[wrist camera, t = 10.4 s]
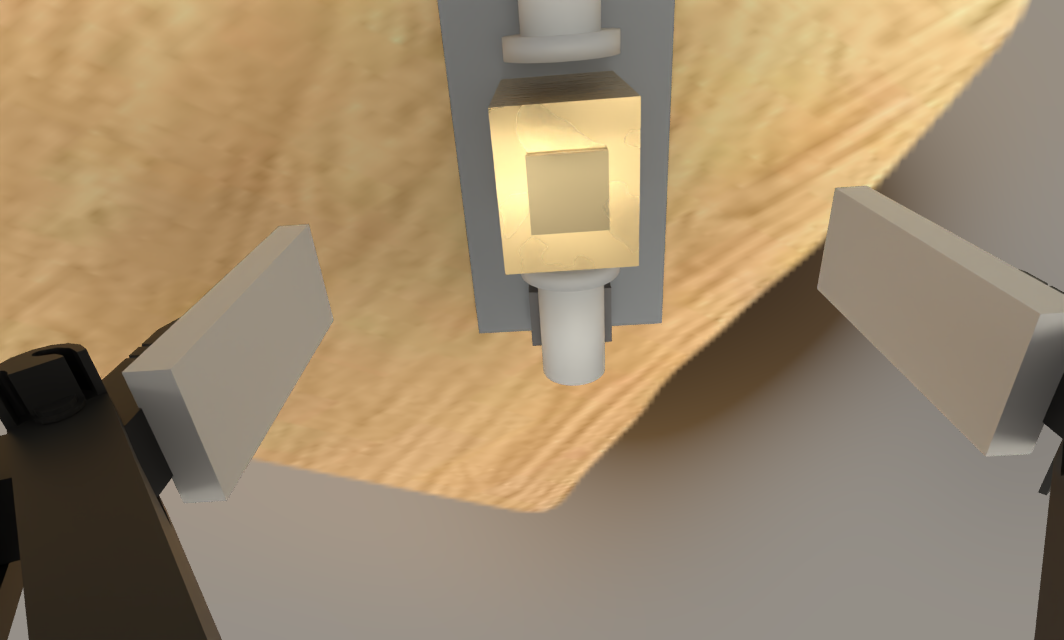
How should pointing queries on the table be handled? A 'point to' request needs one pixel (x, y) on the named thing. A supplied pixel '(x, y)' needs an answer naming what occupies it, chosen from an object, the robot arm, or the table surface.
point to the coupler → (567, 171)
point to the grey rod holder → (473, 76)
